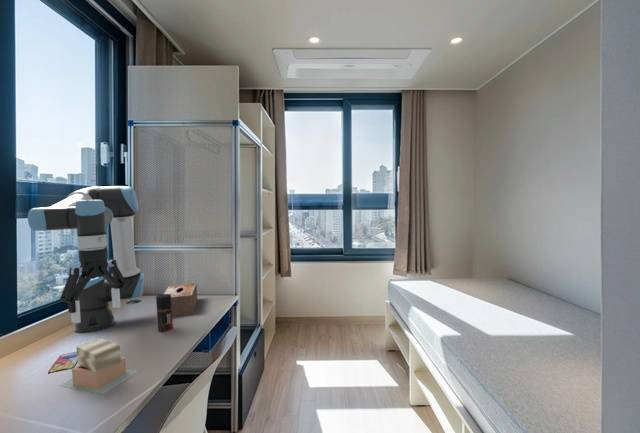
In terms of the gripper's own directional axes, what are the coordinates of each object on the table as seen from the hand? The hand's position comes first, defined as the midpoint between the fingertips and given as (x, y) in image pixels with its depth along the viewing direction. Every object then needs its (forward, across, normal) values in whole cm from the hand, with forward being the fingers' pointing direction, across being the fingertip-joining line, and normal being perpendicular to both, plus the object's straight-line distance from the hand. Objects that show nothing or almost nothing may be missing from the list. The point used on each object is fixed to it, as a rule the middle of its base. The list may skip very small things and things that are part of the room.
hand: (97, 314), depth 103 cm
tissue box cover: (+22, +64, +23) cm, 71 cm away
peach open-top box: (+20, -1, -1) cm, 20 cm away
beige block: (+15, -1, -1) cm, 15 cm away
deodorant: (+21, +38, +9) cm, 44 cm away
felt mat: (+21, -1, -1) cm, 21 cm away
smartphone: (+21, +5, +22) cm, 31 cm away
